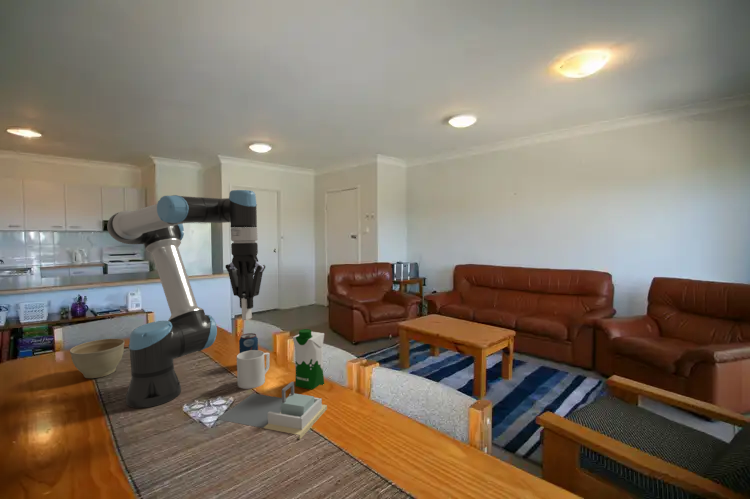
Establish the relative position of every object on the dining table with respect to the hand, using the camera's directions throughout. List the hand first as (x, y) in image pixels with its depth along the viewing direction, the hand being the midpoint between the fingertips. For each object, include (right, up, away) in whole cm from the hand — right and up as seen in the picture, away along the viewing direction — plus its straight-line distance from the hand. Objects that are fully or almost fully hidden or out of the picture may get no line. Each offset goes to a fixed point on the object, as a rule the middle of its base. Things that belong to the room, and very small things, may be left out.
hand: (247, 318), depth 111 cm
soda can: (-10, -25, +31) cm, 41 cm away
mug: (-2, -26, +14) cm, 29 cm away
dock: (+10, -27, -7) cm, 29 cm away
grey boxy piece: (+18, -26, -9) cm, 33 cm away
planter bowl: (-64, -26, +25) cm, 73 cm away
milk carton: (+17, -26, +12) cm, 33 cm away
